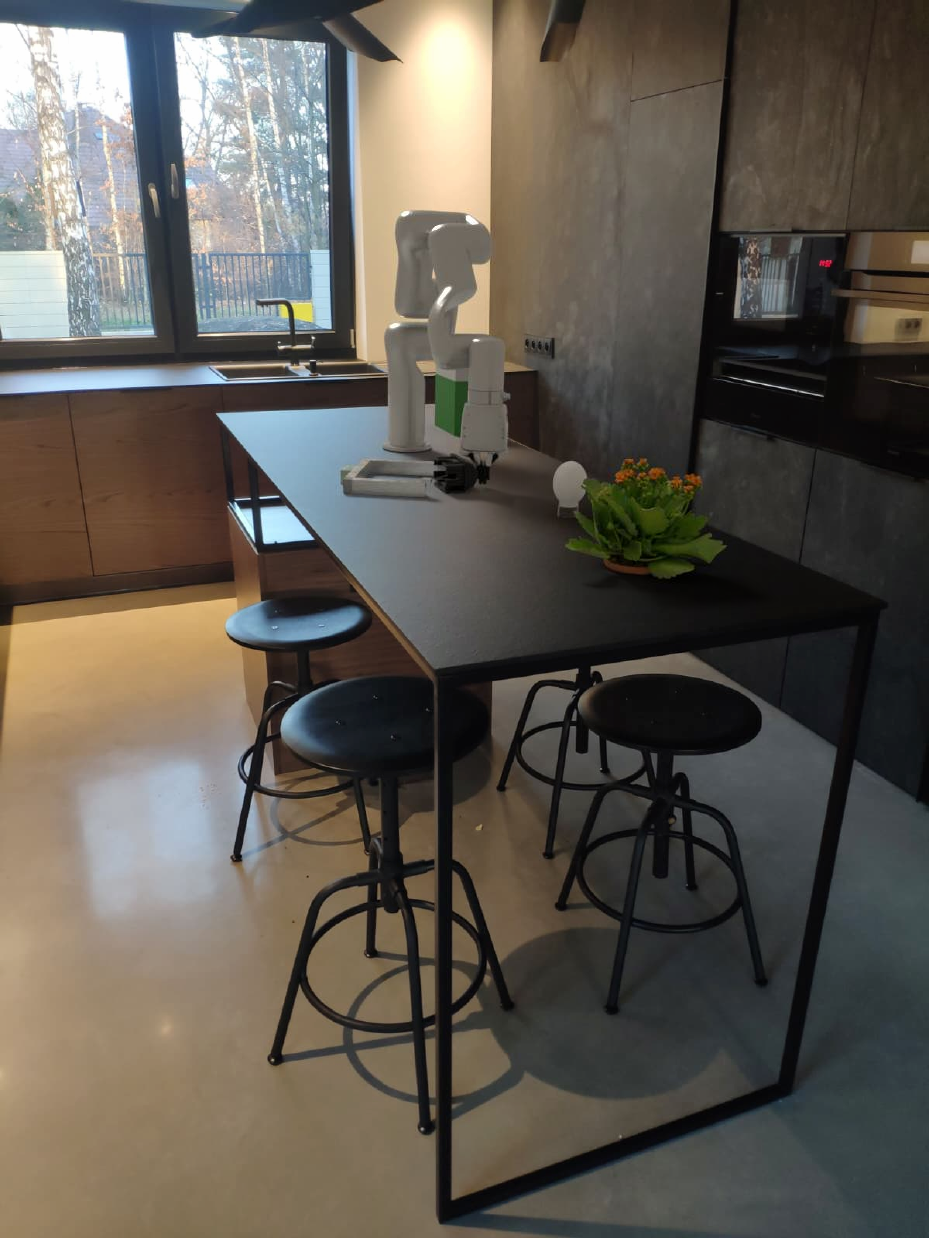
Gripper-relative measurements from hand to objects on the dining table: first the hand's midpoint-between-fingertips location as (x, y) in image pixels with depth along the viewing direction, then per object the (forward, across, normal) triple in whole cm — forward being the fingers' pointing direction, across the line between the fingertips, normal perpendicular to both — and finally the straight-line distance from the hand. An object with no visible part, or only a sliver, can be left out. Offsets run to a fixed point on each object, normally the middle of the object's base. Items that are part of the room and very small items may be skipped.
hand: (482, 482), depth 207 cm
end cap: (+1, +6, +1) cm, 6 cm away
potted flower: (+2, -28, +50) cm, 58 cm away
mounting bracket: (+1, +21, 0) cm, 21 cm away
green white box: (+1, +13, -70) cm, 72 cm away
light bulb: (+2, -18, +20) cm, 27 cm away
